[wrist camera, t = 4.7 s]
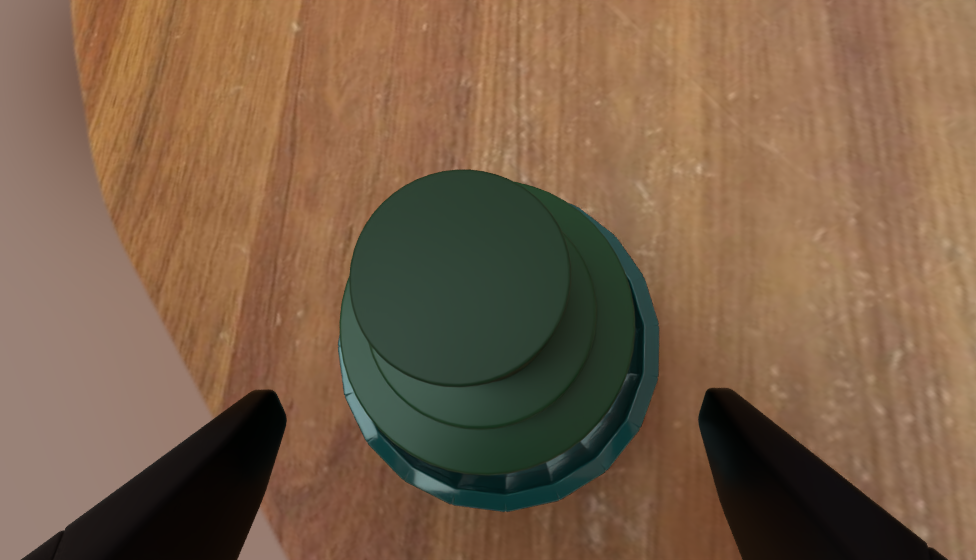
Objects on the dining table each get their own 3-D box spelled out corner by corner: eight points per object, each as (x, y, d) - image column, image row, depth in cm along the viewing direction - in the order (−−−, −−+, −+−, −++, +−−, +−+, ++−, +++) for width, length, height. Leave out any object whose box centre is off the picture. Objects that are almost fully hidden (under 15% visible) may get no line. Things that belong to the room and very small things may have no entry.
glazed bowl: (617, 488, 17) (656, 532, 12) (368, 457, 18) (312, 487, 13) (625, 242, 19) (661, 197, 14) (402, 226, 20) (365, 178, 15)
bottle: (573, 434, 17) (732, 601, 4) (415, 416, 18) (151, 518, 5) (582, 277, 18) (721, 58, 6) (435, 265, 19) (267, 42, 6)
